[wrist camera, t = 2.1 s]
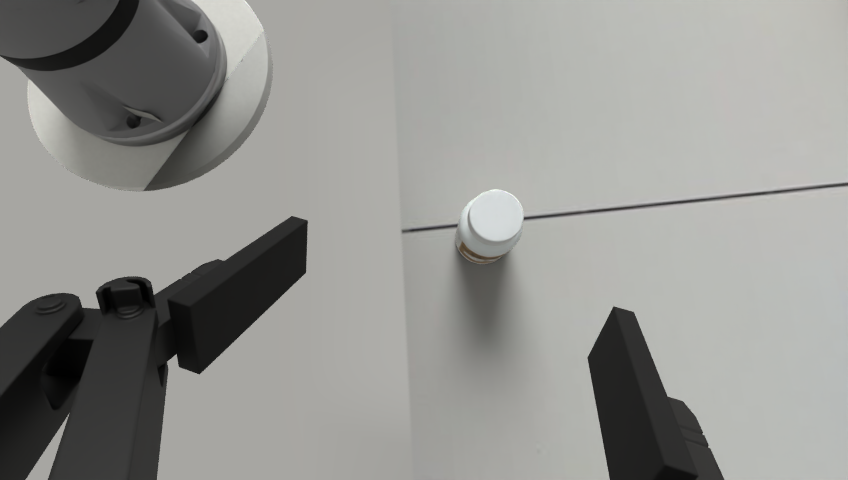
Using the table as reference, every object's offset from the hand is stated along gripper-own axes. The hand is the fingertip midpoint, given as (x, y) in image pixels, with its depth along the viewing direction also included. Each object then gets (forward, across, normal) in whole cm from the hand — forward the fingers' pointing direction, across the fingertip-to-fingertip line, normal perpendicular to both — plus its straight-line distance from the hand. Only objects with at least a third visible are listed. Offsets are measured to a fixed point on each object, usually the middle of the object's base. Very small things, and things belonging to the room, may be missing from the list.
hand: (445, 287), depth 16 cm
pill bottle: (+15, +1, -5) cm, 16 cm away
